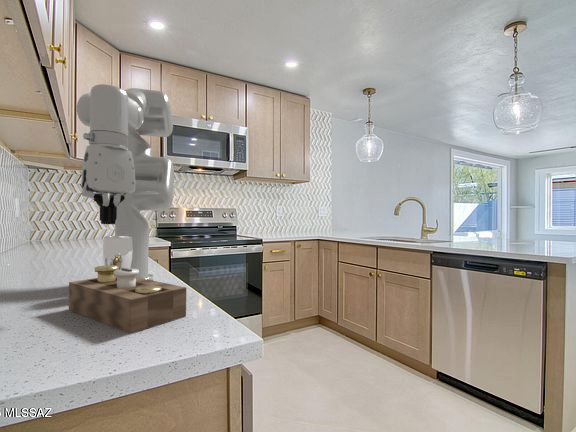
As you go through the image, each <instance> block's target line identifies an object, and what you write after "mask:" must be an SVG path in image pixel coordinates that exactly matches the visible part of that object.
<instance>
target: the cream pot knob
mask: <svg viewBox="0 0 576 432" xmlns="http://www.w3.org/2000/svg"><path fill="white" fill-rule="evenodd" d="M138 274H139V270H138V269H127V268H121V270H116V271H114V276H117V288H118V289H124V288H129V287H134V286H136V275H138Z"/></svg>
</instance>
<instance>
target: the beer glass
mask: <svg viewBox="0 0 576 432" xmlns="http://www.w3.org/2000/svg"><path fill="white" fill-rule="evenodd" d="M132 255H133V246H132V236H115V235H108V236H104V237H103V245H102V260H103V266H105V265H117V266H119V270H121V268H127V269H130V268H131V263H132Z"/></svg>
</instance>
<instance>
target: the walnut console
mask: <svg viewBox="0 0 576 432" xmlns="http://www.w3.org/2000/svg"><path fill="white" fill-rule="evenodd" d="M142 286H161V287H162V291H161V292H156V293H151V294H147V295H142V294H138V293H135V289H136V288H138V287H142ZM68 310H69V311H71V312H74V313H75V314H79V315H81V316H85V317H87V318H89V319H92V320H95V321H97V322H100V323H103V324H105V325H108V326H110V327H112V328H116V329H118V330H121V331H123V332H126V333H128V334H133V333H137V332H140V331H143V330H146V329H149V328H153V327H156V326H160V325H162V324H165V323H166V324H167V323H169V322H172V321H176V320H178V319H182V318H184V317H187V287H186V286H181V285H176V284H172V283H171V284H170V283H168V282H161V281H156V280H154V279H153V280H148V279H143V278H138V277H136V286H134V287H129V288H124V289H118V288H117V276H116V281H114V282H108V283H102V284H99V283H98V277H95V278H89V279H88V278H87V279H81V280H76V281H69V282H68Z"/></svg>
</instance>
